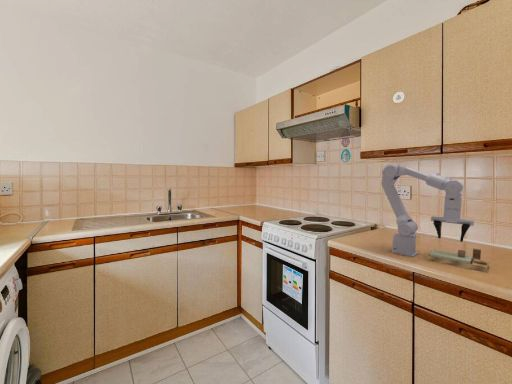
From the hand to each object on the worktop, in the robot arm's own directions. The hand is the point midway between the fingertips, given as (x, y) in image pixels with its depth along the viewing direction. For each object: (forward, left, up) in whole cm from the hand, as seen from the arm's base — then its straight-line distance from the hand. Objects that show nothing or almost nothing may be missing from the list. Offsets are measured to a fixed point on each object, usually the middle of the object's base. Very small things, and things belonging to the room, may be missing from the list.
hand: (450, 239), depth 109 cm
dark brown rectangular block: (+9, +6, -10) cm, 14 cm away
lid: (+1, -2, -7) cm, 7 cm away
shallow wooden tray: (+3, -2, -10) cm, 10 cm away
